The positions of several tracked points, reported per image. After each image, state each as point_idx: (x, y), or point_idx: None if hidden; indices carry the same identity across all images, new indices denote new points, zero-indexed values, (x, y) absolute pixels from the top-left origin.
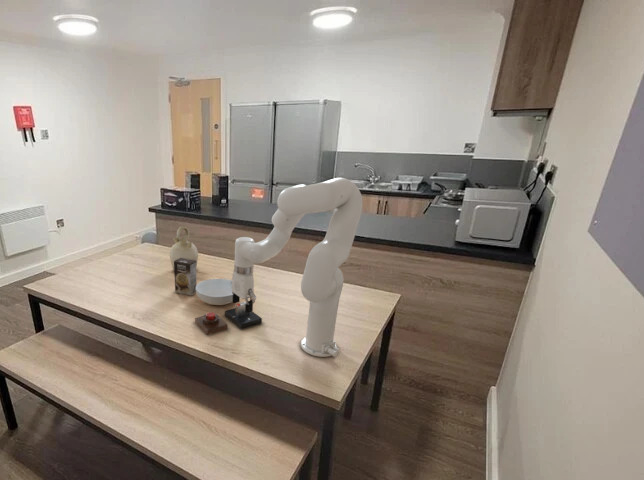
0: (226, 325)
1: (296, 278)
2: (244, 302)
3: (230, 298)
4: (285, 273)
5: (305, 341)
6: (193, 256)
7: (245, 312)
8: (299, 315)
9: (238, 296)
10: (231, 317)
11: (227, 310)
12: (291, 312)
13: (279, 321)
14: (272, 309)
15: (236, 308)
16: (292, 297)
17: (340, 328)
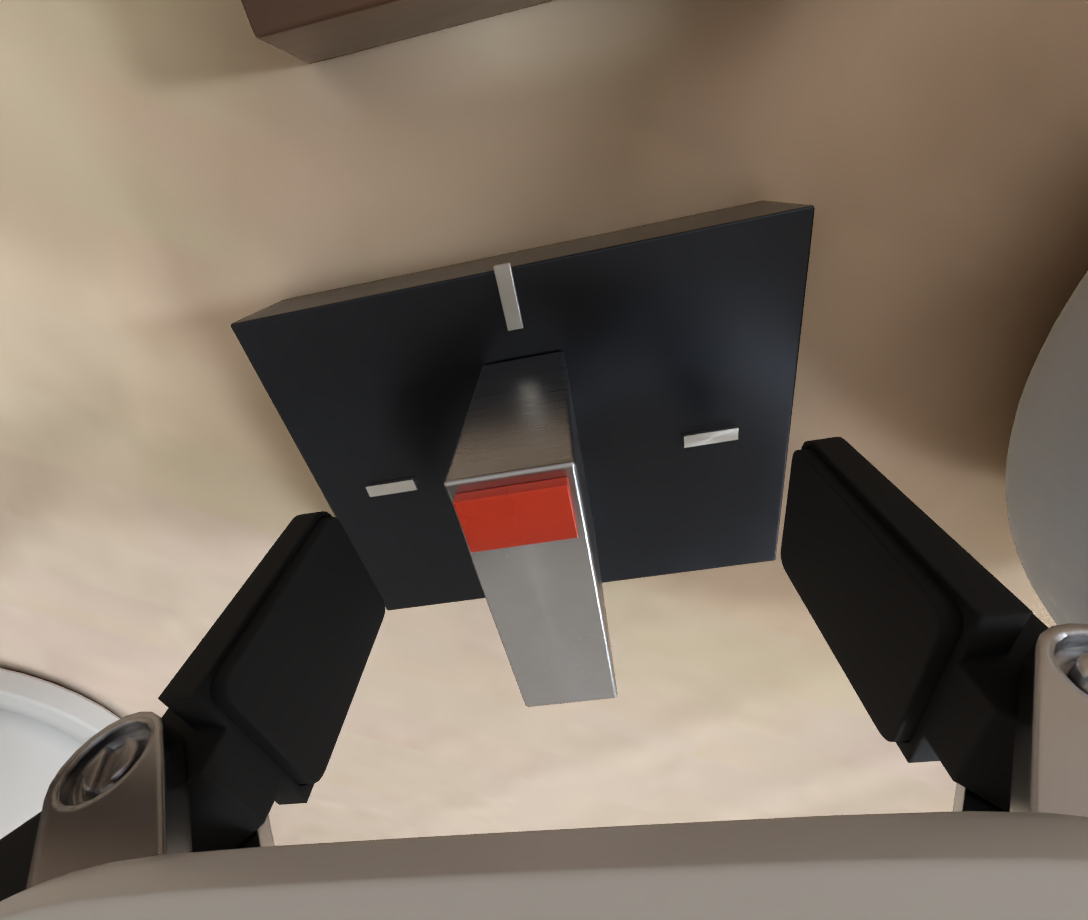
0: (255, 14)
1: None
2: (584, 642)
3: (1068, 465)
4: None
5: (27, 714)
6: None
7: (304, 516)
8: (476, 779)
9: (855, 657)
10: (540, 256)
11: (793, 271)
12: (534, 763)
13: (419, 676)
14: (634, 700)
15: (530, 418)
16: (731, 820)
17: (283, 844)
